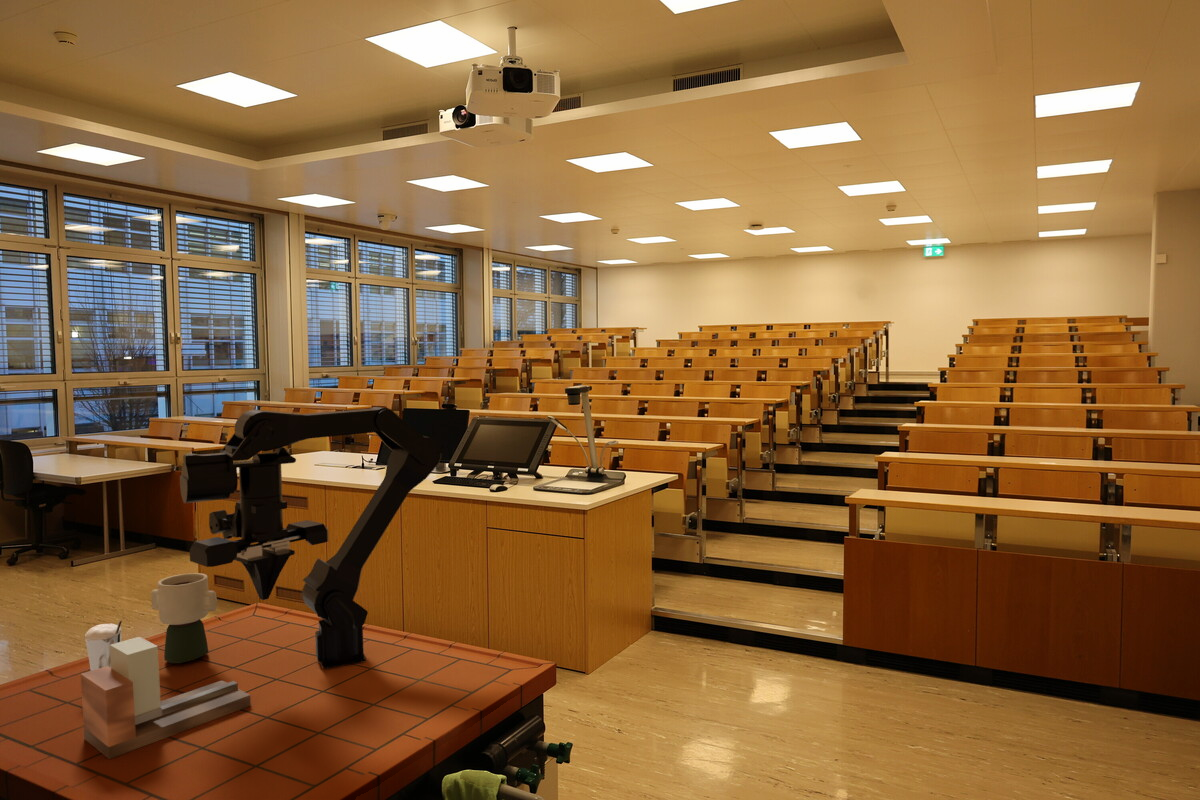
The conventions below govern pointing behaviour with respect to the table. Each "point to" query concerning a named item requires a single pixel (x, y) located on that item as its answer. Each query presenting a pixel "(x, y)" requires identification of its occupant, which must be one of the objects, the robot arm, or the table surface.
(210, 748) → the table surface
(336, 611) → the robot arm
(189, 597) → the character mug
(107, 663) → the milkshake
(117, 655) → the block
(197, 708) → the track
